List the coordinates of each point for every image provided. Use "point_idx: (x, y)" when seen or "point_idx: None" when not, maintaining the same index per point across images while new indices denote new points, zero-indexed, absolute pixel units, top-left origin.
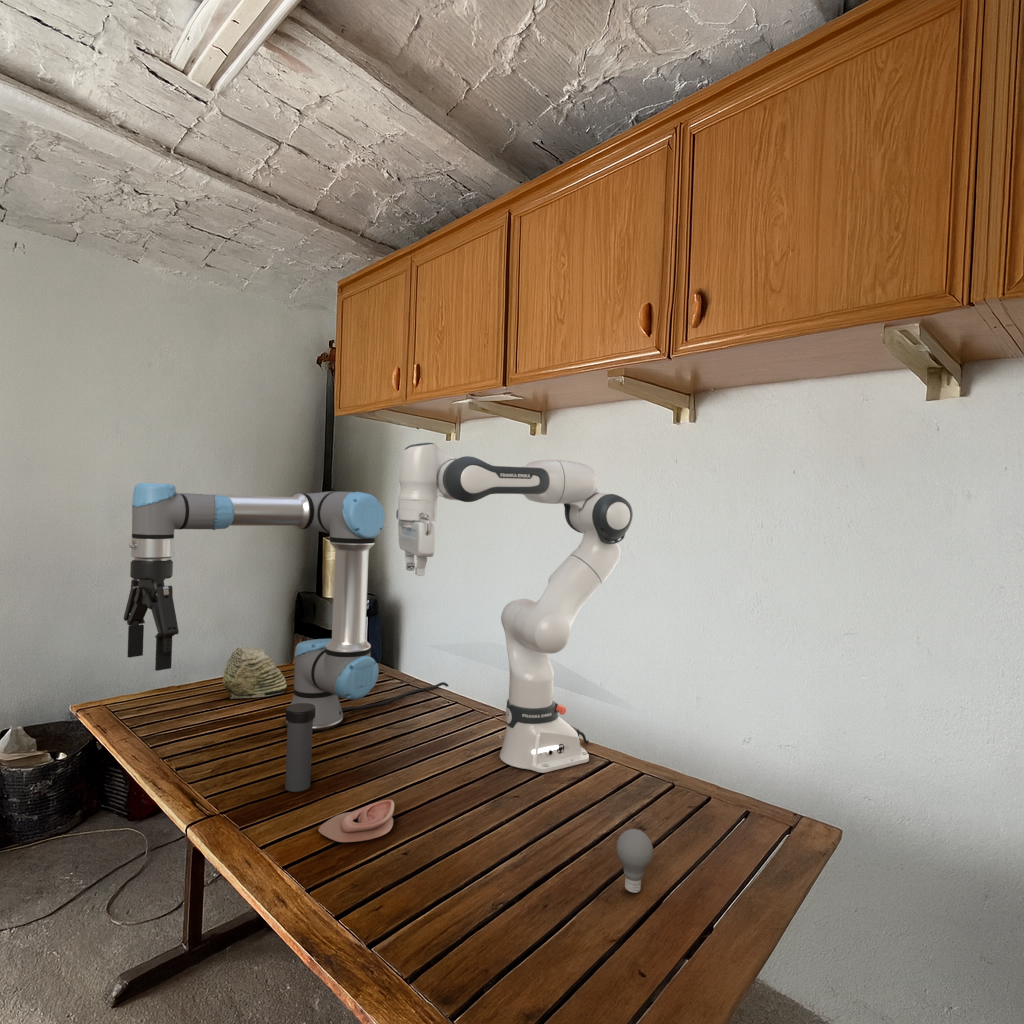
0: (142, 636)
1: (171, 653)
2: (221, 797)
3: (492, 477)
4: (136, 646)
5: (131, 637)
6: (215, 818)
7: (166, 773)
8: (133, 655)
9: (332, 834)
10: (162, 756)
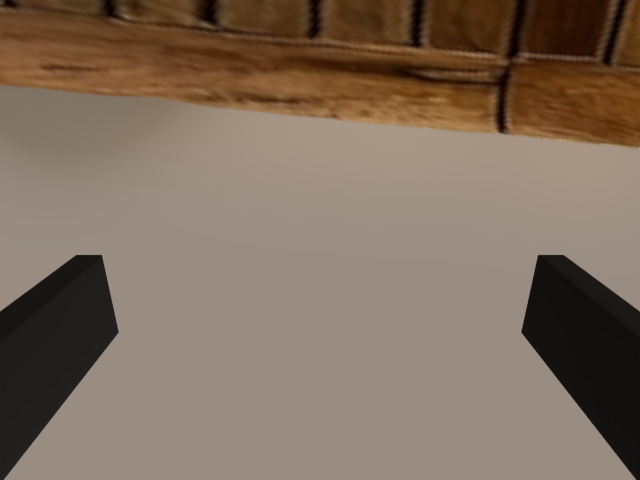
0: (4, 345)
1: (636, 311)
2: (444, 15)
3: None
4: (69, 333)
5: (30, 428)
6: (521, 78)
7: (218, 52)
8: (108, 313)
9: None
10: (95, 9)
